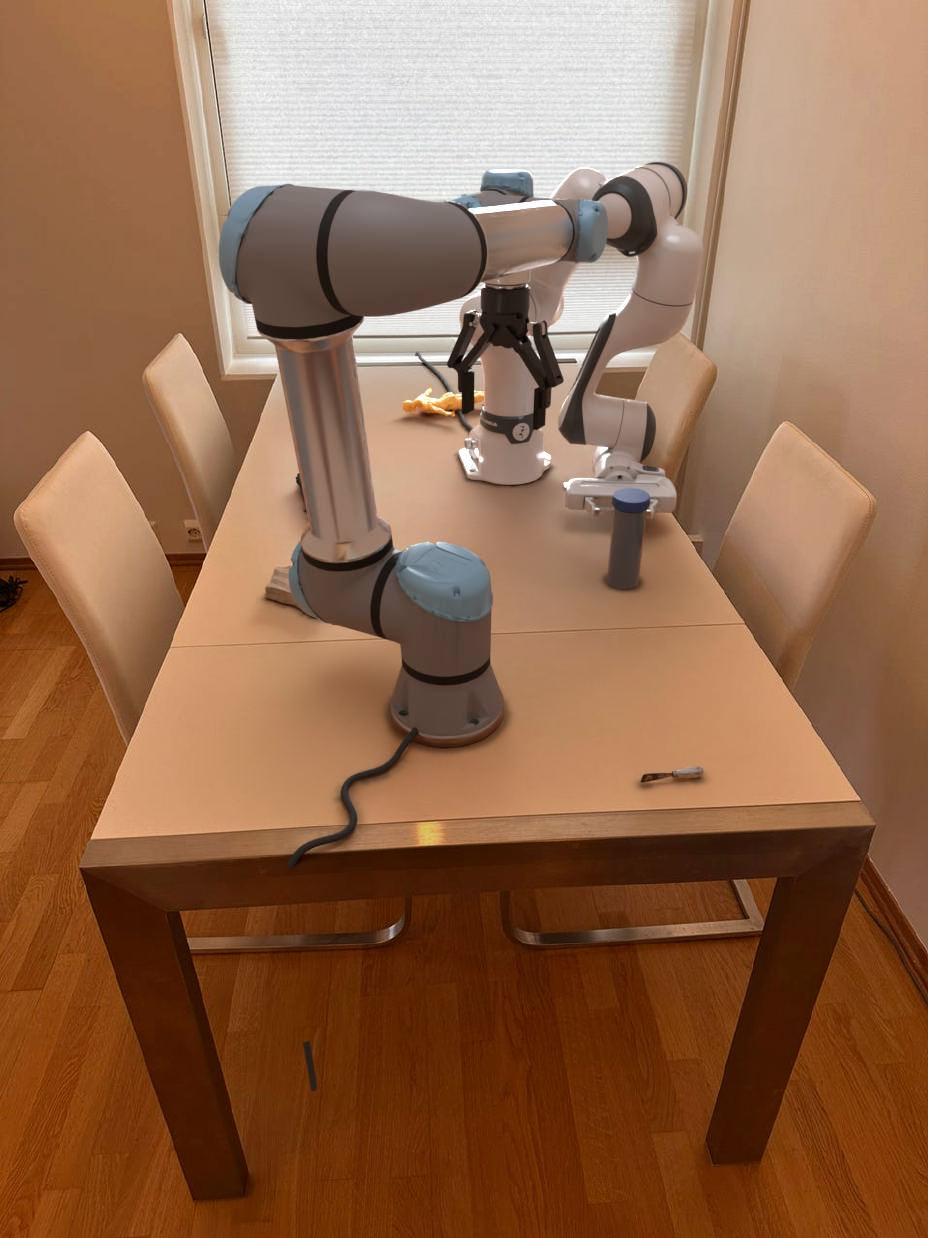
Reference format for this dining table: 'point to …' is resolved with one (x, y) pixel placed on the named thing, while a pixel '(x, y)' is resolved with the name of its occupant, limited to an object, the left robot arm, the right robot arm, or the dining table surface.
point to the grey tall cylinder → (626, 549)
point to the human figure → (439, 402)
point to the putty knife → (674, 774)
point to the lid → (631, 500)
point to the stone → (280, 586)
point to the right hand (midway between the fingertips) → (622, 514)
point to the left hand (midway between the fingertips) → (502, 419)
